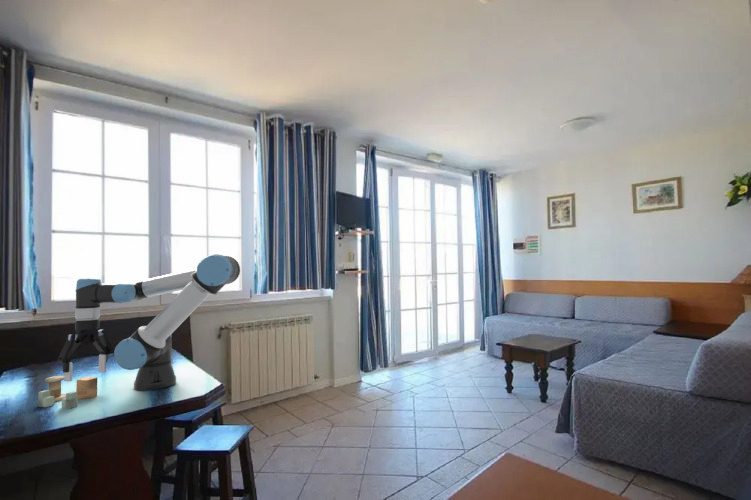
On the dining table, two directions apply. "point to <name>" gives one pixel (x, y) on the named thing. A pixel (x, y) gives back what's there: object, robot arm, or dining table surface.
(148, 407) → the dining table surface
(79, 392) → the tan tall block
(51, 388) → the bobbin
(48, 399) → the pair of stepped blocks
